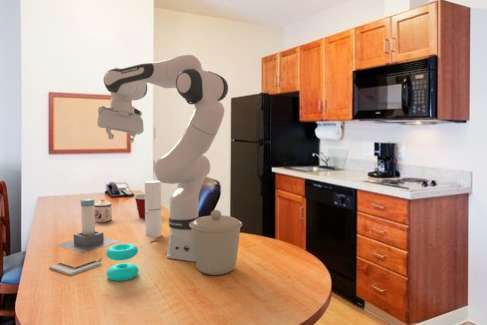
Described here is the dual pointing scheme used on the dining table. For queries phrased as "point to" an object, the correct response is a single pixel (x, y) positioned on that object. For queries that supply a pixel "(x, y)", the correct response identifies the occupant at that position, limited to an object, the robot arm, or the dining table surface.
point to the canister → (216, 243)
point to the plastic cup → (140, 204)
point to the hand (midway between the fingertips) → (121, 140)
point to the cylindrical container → (153, 208)
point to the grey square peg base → (88, 242)
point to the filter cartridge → (88, 217)
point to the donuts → (122, 269)
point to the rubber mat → (73, 270)
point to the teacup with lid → (102, 211)
